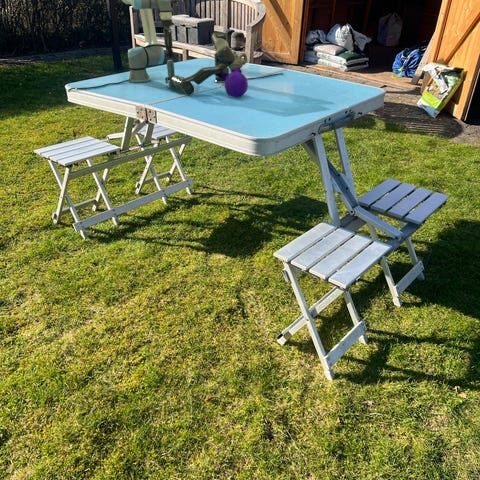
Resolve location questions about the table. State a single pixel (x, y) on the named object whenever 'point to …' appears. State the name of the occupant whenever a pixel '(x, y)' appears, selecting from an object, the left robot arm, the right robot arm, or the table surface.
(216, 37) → the right robot arm
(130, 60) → the left robot arm
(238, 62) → the teapot
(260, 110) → the table surface
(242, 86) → the toy
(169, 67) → the bottle
